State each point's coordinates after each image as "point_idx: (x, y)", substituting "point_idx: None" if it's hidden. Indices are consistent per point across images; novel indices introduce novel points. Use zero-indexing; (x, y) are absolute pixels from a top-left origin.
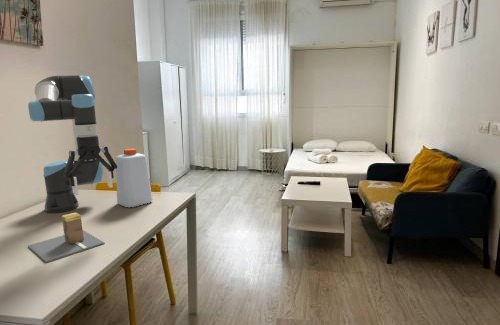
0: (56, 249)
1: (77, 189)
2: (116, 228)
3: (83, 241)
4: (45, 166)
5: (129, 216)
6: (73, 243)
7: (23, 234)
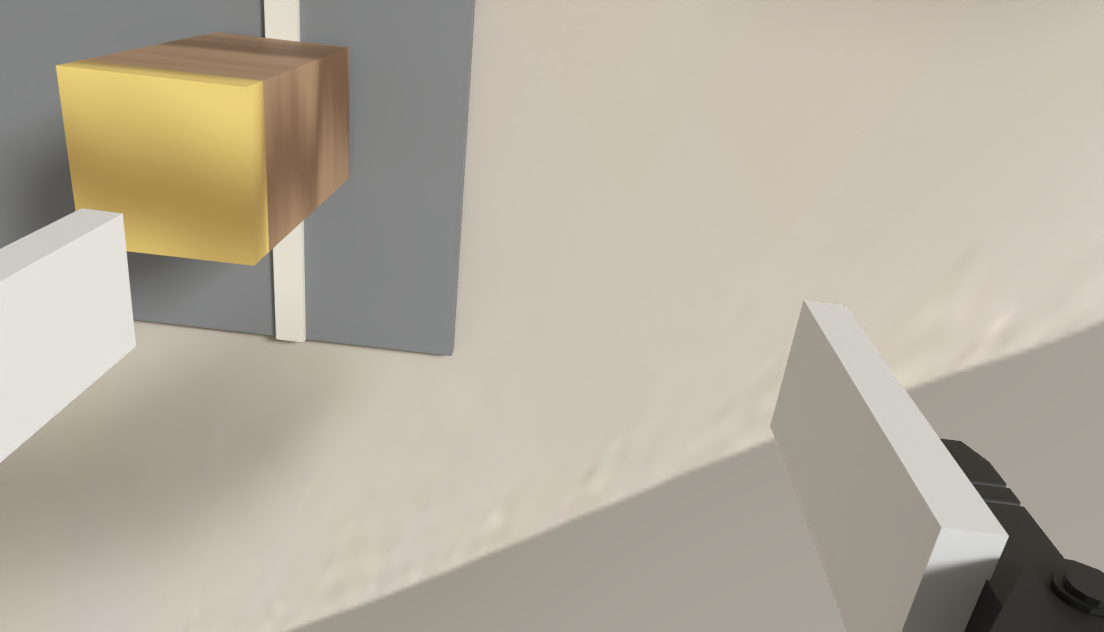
0: None
1: (69, 393)
2: (742, 106)
3: (342, 184)
4: None
5: None
6: None
7: None
